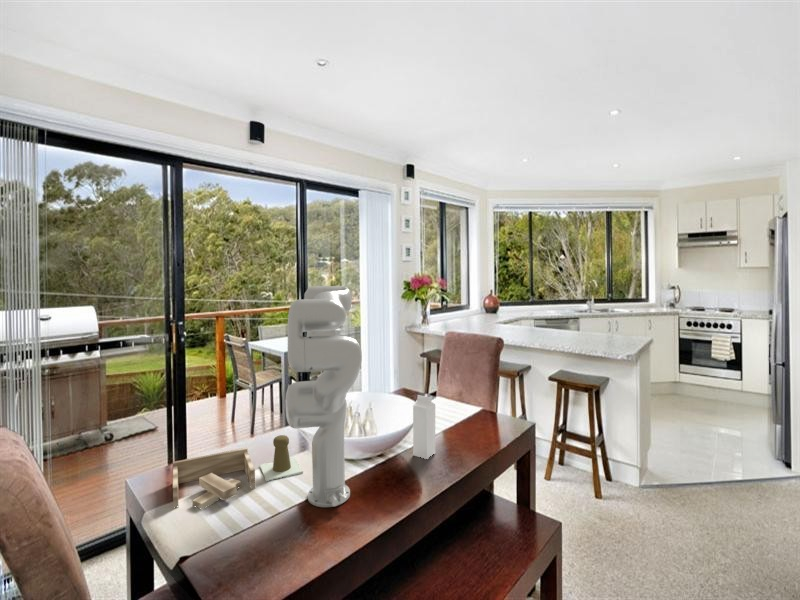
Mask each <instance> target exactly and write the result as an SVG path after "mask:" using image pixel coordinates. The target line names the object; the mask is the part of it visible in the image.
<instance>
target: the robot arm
mask: <svg viewBox="0 0 800 600" xmlns="http://www.w3.org/2000/svg"><path fill="white" fill-rule="evenodd" d="M303 295H304V297H303V299H302V298H300V299H296V300H294V301H293V302H292V303H291V304H290V307H289V309H288V315H287V362H288V365H289V367H290V369H291V370H292V371H294V372H296V373H307V374H308V375H311V374H312V373H313V372H322V373H320V374H319V375H318V376H317V378H316V379H315V380H303V381H296V382H293V383H291V384H289V386H288V387H287V389H286V392H285V399H284V400H285V401H284V402H285V405H284V406H285V417H286V421H287V423H288V425H289V426H290V428H293V429H304V428H305V429H306V428H317V430H316V431H315V433H314V435H313V437H312V439H311V440H312V441H311V458H312V459H311V460H312V461H311V463H312V465H311V466H312V467H311V468H312V488H310V490H308V492H307V499H308V500H307V501H308V502H309V504H311V505H313V506H315V507H319V508H333V507H338V506H340V505H342V504H343V503H345V502H347V501H348V499H349V498H350V496H351V489H350V487H349V486H348V485H347V484H346V482H345V481H346V476H345V475H346V474H345V472H346V470H345V467H346V466H345V425H346V417H347V410H348V408H347V405H348V403H347V400H346V397H347V393H348V391H349V390H350V389H352V387H353V385H354V384H355V382H356V381H357V379H358V377H359V373H360V371H361V367H362V359H363V358H362V357H363V355H362V348H361V345H360V344H359V342H358V341H357V339H355V338H353V337H350V336H346V335H337V329H340V328H341V327H342V326H343V324H344V323H345V321H346V319H347V318H346V317H347V314H348V313H349V312H350V310H351V309H352V303H353V301H352V293H351V291H350V289H349V288H348V287H347V286H344V285H316V286H315V285H314V286H309V287H308V288H307V289H306V291H305V292H304V294H303ZM303 333H306V336H304V335H303Z"/></svg>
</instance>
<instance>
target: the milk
mask: <svg viewBox="0 0 800 600" xmlns="http://www.w3.org/2000/svg"><path fill="white" fill-rule="evenodd" d="M412 417H413V418H412V422H413V423H412V427H413V428H412V432H413V434H412V436H413V437H412V445H413V446H412V448H413V449H412V452H413V453H412V456H413V457H414V456H415V457H416V458H417V457H418V458H420V457H421V458H420V459H423V458H424V460H426V459H427V460H428V459H430V458H431V457H433V456H434V455H435V454H436V403H435V402H432V397H430V396H425V395H419V394H417V399H416V401H415V402H414V403H413V405H412ZM433 454H434V455H433ZM432 455H433V456H432ZM430 456H431V457H430ZM429 457H430V458H429Z"/></svg>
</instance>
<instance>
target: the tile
mask: <svg viewBox="0 0 800 600" xmlns="http://www.w3.org/2000/svg"><path fill="white" fill-rule="evenodd" d="M289 458H290V464H291V468H290V469H289V470H287V471H284V472H275V471H273V462H274V461H270V462H267V463H262V464H259V468H260V470H261V472H263V473H262V475H263V477H265V478H264V479H266V480H265V482H266V481H268V482H270V481H269V480H272V481H274V480H273V479H276V480H279V479H278V478H280V479H283V478H282V477H285V478H287V477H286V476H289V477H292V476H291V475H293V476H296V475H295V474H297V475H300V474H299V473H301V474H304V470H303V468H302V467H301V466H300V464H299V463H298V461H297V459H296V458H295V456H293V457H289Z"/></svg>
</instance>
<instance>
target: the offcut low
mask: <svg viewBox="0 0 800 600" xmlns="http://www.w3.org/2000/svg"><path fill="white" fill-rule="evenodd" d="M227 481H228V482H230V483H232V484H233V485H235V486H236V489H237V488H238V487H240V486H241V487H242V485H241V484H242V483H241V480H238V479H235V478H229V480H227ZM241 487H240V488H241ZM238 489H239V488H238ZM238 489H237V490H238ZM218 499H220V498H219V497H218V496H216V495H214V494H213V493H211V492H209V491H207V492H205V493H203V494H201V495H199V496H198V497H196V498H194V499H193V500H192V507H193V506H196V507H198V508H201V509H203V508H204V509H206V508H207V507H206V506H208V505H209V506H211V505H213V504H215V503H216V502H217V500H218ZM220 500H221V499H220ZM215 501H216V502H215ZM218 501H219V500H218ZM212 503H213V504H212ZM210 504H211V505H210ZM209 506H208V507H209ZM196 507H195V508H196ZM205 507H206V508H205ZM198 508H197V509H198ZM201 509H200V510H201ZM204 509H203V510H204Z"/></svg>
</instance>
